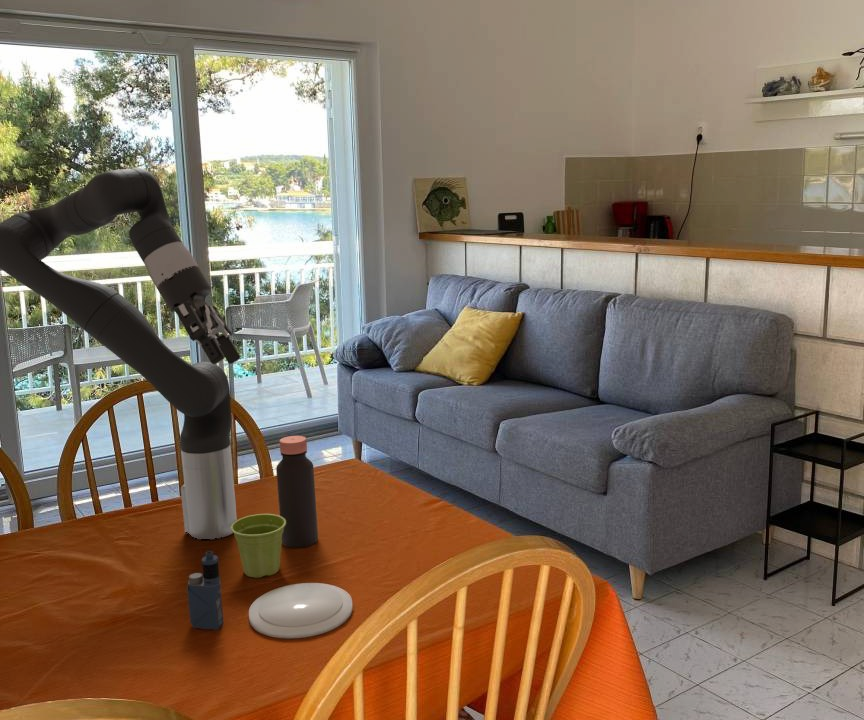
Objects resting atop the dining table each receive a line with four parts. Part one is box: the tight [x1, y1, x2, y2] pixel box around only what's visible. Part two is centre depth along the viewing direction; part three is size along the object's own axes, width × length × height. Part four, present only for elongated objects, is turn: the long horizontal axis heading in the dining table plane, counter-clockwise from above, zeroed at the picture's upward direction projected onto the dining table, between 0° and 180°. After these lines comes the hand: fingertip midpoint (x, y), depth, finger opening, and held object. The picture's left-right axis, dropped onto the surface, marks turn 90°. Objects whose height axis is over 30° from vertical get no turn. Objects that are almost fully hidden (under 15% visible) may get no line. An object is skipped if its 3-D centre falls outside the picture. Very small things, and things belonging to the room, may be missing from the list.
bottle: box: [275, 435, 319, 549], centre depth 159 cm, size 7×7×20 cm
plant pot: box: [231, 513, 286, 579], centre depth 148 cm, size 9×9×9 cm
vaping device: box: [186, 550, 224, 631], centre depth 130 cm, size 3×5×12 cm, turn 79°
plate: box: [248, 582, 353, 639], centre depth 134 cm, size 16×16×1 cm
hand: (227, 361), depth 139 cm, fingers open, 8 cm apart
